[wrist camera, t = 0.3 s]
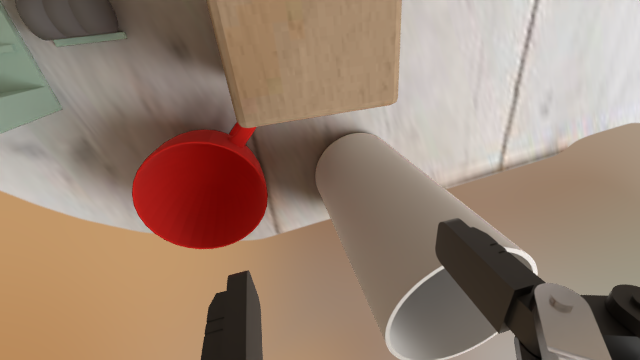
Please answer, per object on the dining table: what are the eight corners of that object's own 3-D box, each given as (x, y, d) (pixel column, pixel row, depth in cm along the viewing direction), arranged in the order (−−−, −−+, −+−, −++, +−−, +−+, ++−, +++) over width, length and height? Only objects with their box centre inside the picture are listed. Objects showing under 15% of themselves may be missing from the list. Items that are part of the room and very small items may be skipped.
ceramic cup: (297, 124, 37) (312, 151, 28) (234, 216, 41) (230, 264, 32) (205, 63, 31) (187, 73, 22) (143, 177, 35) (109, 223, 27)
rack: (26, -17, 25) (22, -17, 24) (102, -23, 26) (99, -24, 25) (59, 46, 27) (56, 46, 27) (127, 38, 28) (125, 38, 28)
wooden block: (244, 81, 33) (238, 132, 16) (222, -21, 28) (176, -111, 11) (324, 70, 34) (400, 105, 17) (316, -29, 29) (410, -119, 12)
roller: (33, -6, 25) (6, -6, 22) (103, -13, 26) (86, -13, 23) (58, 37, 27) (36, 42, 24) (122, 29, 28) (109, 34, 25)
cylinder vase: (303, 197, 42) (359, 366, 21) (330, 121, 37) (439, 236, 16) (372, 209, 46) (478, 360, 25) (404, 142, 42) (568, 256, 20)
